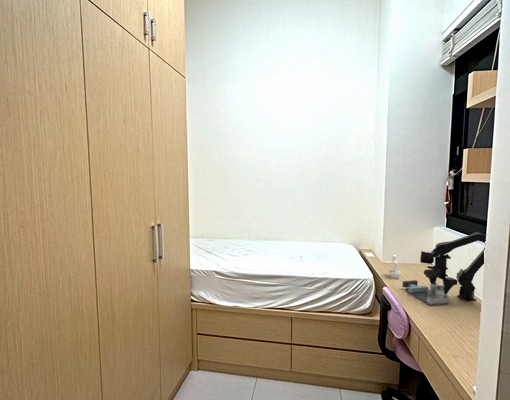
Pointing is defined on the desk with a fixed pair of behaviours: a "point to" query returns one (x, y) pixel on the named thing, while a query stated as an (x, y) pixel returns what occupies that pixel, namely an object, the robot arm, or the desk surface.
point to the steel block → (437, 289)
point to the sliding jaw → (414, 286)
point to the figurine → (394, 268)
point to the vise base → (424, 296)
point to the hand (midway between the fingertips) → (439, 291)
